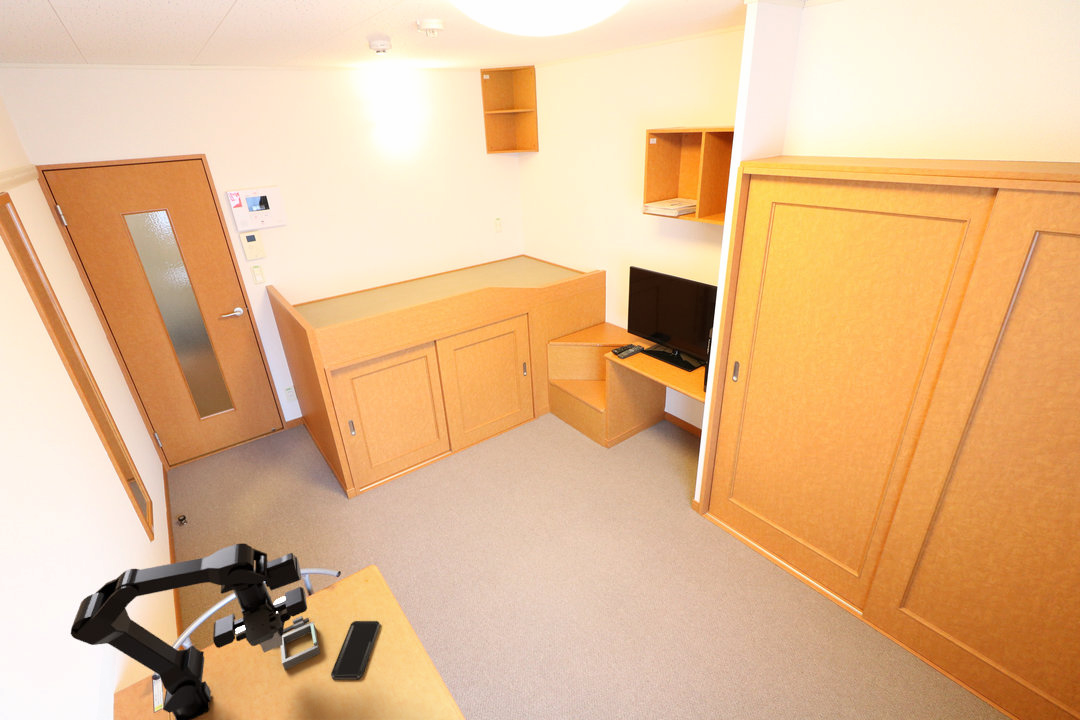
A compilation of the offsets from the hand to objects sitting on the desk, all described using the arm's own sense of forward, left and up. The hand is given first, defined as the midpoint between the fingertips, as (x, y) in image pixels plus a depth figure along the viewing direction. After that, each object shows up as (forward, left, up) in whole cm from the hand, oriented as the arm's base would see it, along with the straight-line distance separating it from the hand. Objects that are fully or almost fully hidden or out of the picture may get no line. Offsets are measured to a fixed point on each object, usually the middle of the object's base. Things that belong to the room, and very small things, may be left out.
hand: (271, 638), depth 118 cm
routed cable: (+2, +10, -11) cm, 15 cm away
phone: (+17, -4, -12) cm, 21 cm away
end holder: (+4, +4, -11) cm, 13 cm away
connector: (0, 0, -1) cm, 1 cm away
